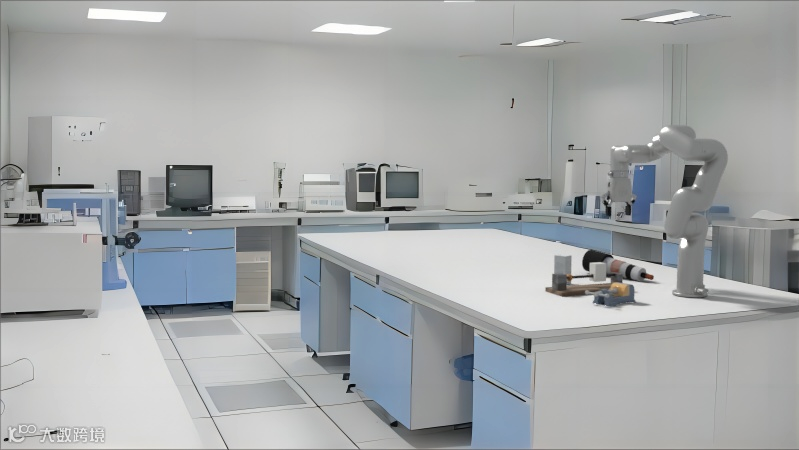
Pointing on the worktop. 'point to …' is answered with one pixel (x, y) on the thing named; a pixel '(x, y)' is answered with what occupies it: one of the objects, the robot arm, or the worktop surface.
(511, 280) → the worktop surface
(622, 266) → the cable
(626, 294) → the vise
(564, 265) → the skincare box
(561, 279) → the cord rack
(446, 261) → the worktop surface
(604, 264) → the sleeve
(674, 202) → the robot arm
